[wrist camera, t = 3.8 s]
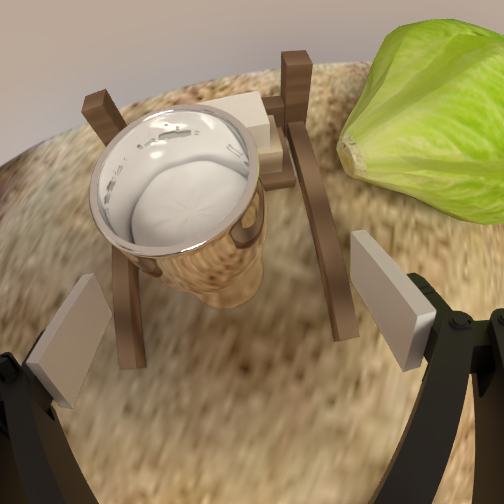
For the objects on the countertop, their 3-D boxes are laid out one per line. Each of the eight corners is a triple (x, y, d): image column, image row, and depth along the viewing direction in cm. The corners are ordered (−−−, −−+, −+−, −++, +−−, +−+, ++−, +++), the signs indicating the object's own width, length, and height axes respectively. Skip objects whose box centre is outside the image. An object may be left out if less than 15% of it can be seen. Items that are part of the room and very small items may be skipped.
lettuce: (281, 128, 29) (282, -31, 12) (452, 96, 30) (500, 1, 14) (366, 308, 23) (515, 232, 7) (530, 218, 24) (620, 147, 8)
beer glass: (216, 215, 26) (165, 82, 12) (285, 259, 25) (303, 142, 10) (166, 281, 25) (55, 200, 10) (235, 332, 23) (179, 308, 9)
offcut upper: (270, 148, 23) (269, 123, 20) (146, 176, 23) (132, 156, 20) (259, 115, 24) (258, 91, 21) (145, 143, 24) (133, 121, 21)
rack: (355, 336, 22) (401, 329, 14) (127, 368, 23) (63, 373, 14) (299, 119, 29) (305, 50, 20) (123, 152, 29) (85, 96, 20)
